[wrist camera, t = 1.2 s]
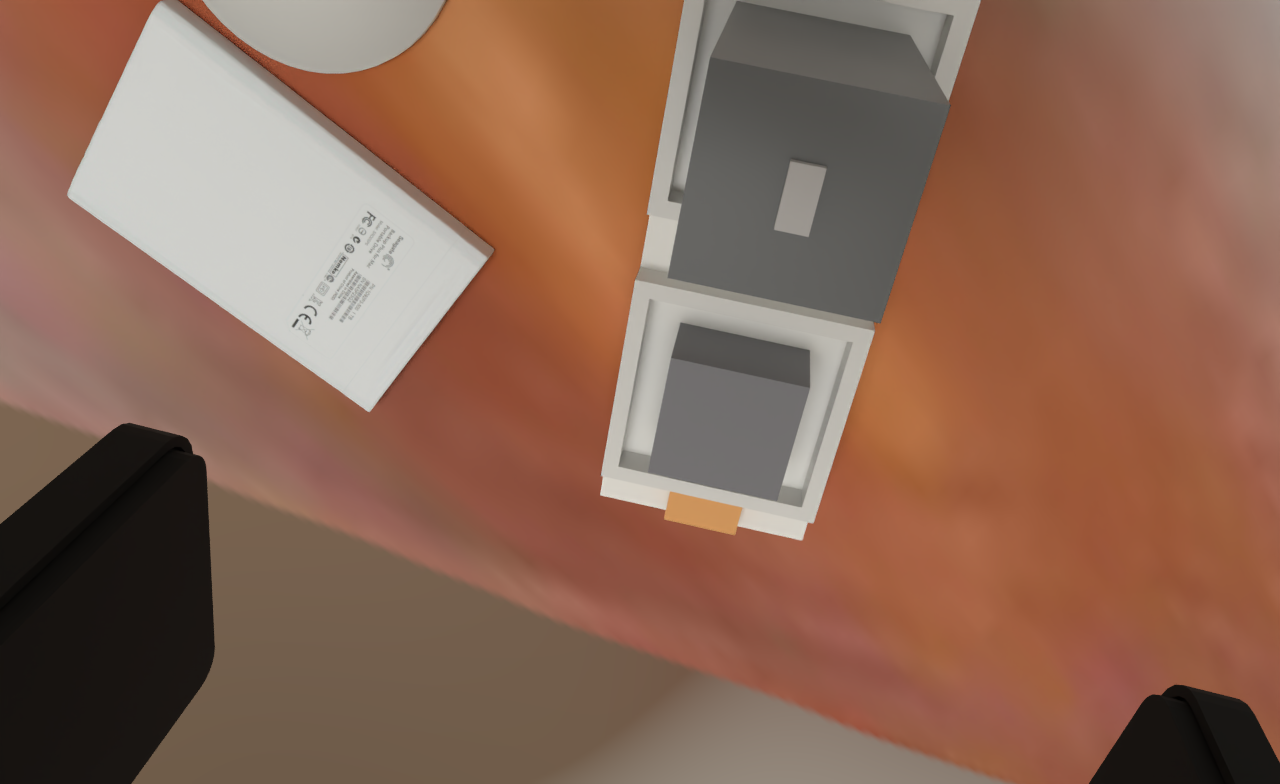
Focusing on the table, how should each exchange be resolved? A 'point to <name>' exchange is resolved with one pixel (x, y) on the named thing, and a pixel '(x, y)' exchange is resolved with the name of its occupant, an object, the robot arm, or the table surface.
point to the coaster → (328, 29)
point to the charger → (807, 161)
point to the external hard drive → (272, 208)
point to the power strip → (741, 327)
